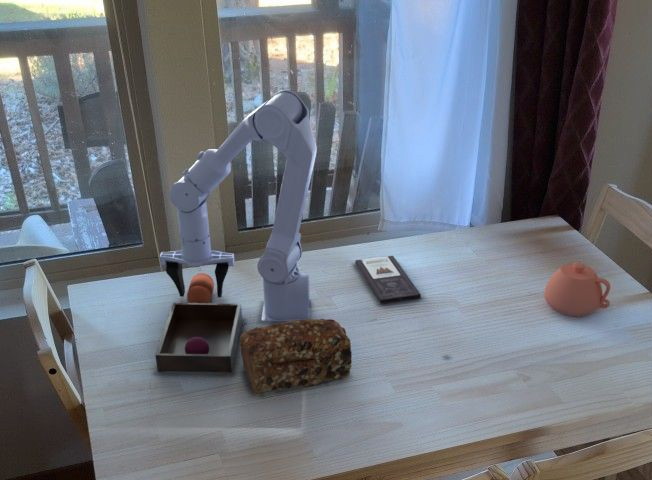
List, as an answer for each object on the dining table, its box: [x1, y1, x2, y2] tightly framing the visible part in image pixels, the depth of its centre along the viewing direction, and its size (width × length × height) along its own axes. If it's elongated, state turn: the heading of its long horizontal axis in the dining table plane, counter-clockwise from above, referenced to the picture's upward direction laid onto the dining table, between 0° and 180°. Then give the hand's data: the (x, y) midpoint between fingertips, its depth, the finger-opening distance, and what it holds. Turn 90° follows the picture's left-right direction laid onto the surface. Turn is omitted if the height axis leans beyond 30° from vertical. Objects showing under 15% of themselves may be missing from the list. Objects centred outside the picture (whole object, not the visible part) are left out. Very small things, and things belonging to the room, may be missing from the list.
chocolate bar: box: [355, 255, 422, 305], centre depth 182 cm, size 9×1×18 cm
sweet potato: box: [186, 272, 215, 303], centre depth 171 cm, size 9×5×5 cm, turn 3°
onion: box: [185, 337, 209, 354], centre depth 153 cm, size 4×4×4 cm
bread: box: [239, 318, 353, 394], centre depth 151 cm, size 19×11×10 cm, turn 111°
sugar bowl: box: [543, 261, 611, 318], centre depth 174 cm, size 12×14×10 cm
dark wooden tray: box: [154, 302, 243, 373], centre depth 158 cm, size 13×18×4 cm
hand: (201, 294), depth 172 cm, fingers open, 7 cm apart
